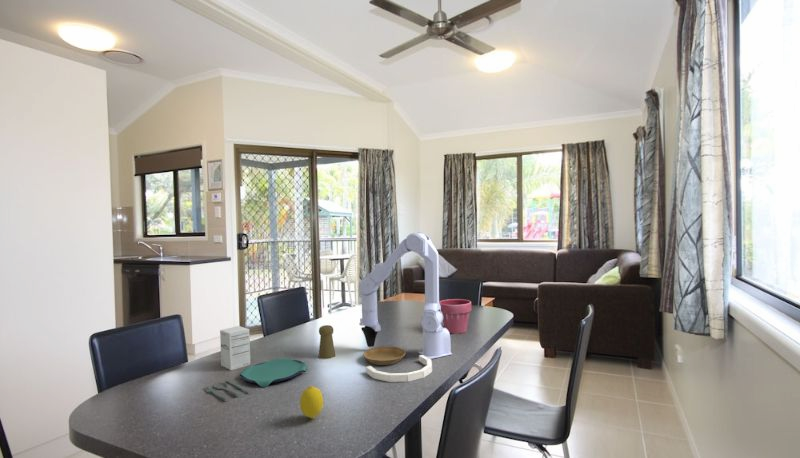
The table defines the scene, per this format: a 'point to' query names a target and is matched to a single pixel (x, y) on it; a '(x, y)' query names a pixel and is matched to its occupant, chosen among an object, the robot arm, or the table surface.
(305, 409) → the lemon
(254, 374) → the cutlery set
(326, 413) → the table surface
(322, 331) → the cork
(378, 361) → the plant saucer
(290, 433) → the table surface
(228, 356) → the supplement box
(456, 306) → the plant pot
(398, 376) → the centring cradle
